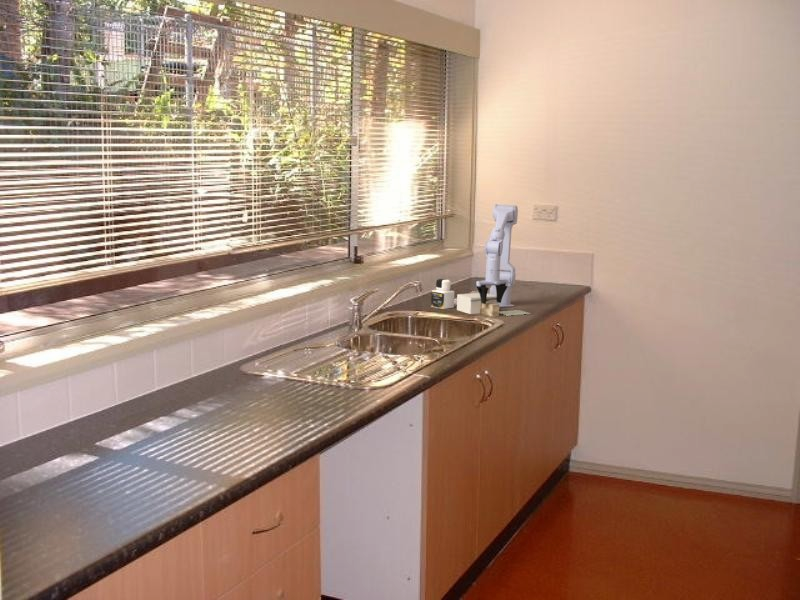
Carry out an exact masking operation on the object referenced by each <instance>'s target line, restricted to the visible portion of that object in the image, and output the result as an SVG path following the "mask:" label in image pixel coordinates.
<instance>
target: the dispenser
mask: <svg viewBox="0 0 800 600" xmlns="http://www.w3.org/2000/svg"><path fill="white" fill-rule="evenodd" d="M496 297H497V296H496V295H492V294H490V293H489V292H487V298H486V301H488V302H492V303H495V304H498V302H497V300H496ZM456 299H457V300H456V311H458V312H459V311H460V312H462V313H466V314H468V315H476V314H481V313H480V310H481V297H480V294H479V292H474V293H472V292H471V293H459V294H457V297H456Z"/></svg>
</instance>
